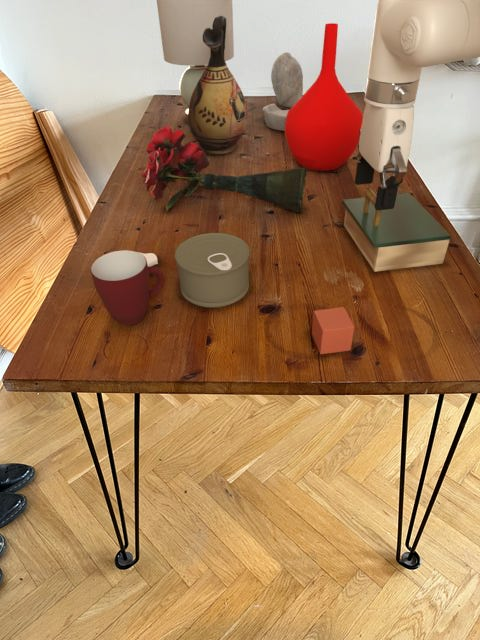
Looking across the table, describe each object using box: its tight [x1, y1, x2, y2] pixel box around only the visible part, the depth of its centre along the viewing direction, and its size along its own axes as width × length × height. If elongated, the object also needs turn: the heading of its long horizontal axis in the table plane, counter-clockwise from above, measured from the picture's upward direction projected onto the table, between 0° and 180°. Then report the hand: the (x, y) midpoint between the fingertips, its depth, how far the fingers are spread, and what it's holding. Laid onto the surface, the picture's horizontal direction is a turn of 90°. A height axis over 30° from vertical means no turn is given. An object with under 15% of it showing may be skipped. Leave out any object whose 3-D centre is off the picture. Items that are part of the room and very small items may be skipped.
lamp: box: [156, 0, 235, 123], centre depth 136 cm, size 20×20×35 cm
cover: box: [341, 187, 452, 248], centre depth 85 cm, size 14×17×5 cm
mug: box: [90, 249, 165, 327], centre depth 73 cm, size 11×8×10 cm
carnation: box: [140, 126, 308, 214], centre depth 102 cm, size 16×18×35 cm
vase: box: [284, 22, 364, 172], centre depth 110 cm, size 18×18×30 cm
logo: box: [137, 251, 159, 267], centre depth 86 cm, size 6×1×8 cm
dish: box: [262, 103, 291, 132], centre depth 139 cm, size 14×14×5 cm
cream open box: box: [343, 209, 451, 272], centre depth 88 cm, size 13×17×5 cm
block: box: [311, 306, 355, 355], centre depth 68 cm, size 4×4×4 cm
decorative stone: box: [270, 52, 304, 109], centre depth 152 cm, size 15×10×15 cm
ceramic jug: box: [187, 16, 249, 156], centre depth 120 cm, size 17×15×30 cm
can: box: [174, 232, 251, 308], centre depth 79 cm, size 12×12×7 cm
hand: (373, 195), depth 83 cm, fingers open, 9 cm apart
